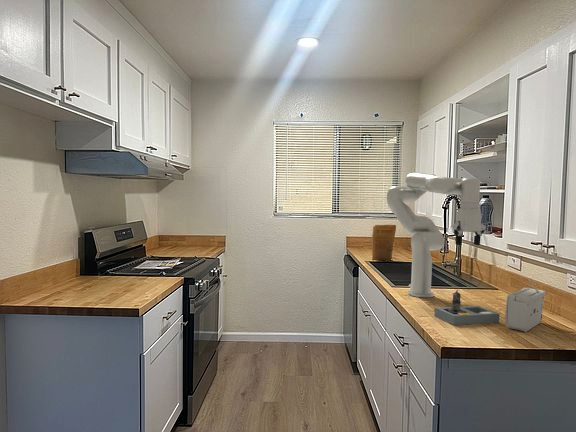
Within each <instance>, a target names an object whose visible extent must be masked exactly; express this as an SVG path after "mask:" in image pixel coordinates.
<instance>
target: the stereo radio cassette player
mask: <svg viewBox="0 0 576 432" xmlns="http://www.w3.org/2000/svg"><path fill="white" fill-rule="evenodd" d="M527 281H528V282H529V283H530V284H531V285H532V287H533V288H531V287H523V288H521V289H519V290H517V291H514V292H511V293H508V294H507V297H506V300H505V301H506V302H505V303H506V304H505V319H504V320H505V326H506V327H507V328H509V329H513V330H517V331H522V332H524V333H527V332H528V331H529V330H531V329H533V328H534V327H537V325H539V324H541V323H542V320H543V307H544V304H543V303H544V297H546V294H547V291H546V290H541V289H537V287H536V286H535V285H534V284H533V282H532V281H531V280H530V278H527Z"/></svg>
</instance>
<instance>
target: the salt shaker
mask: <svg viewBox="0 0 576 432" xmlns="http://www.w3.org/2000/svg"><path fill="white" fill-rule="evenodd" d="M451 302H452V304H451V305H452V306H451V307H452V308H451V309H449V310H448V311H449V312H450V313H452V314H458V313H464V311H462V310H461V309H460V306H461V303H462V301H461V293H460V292H459V291H458V290H456V291H455V292H453V294H452V300H451Z"/></svg>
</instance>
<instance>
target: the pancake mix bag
mask: <svg viewBox="0 0 576 432" xmlns="http://www.w3.org/2000/svg"><path fill="white" fill-rule="evenodd" d="M396 229H397V225H395V224H374V225H373V227H372V234H371V236H372V237H371V247H372V249H371V250H372V252H371V253H372V257H371V260H372V261H374V260H391V259H392V260H393V251H394V242H395V238H396V237H395V236H396V231H397V230H396Z"/></svg>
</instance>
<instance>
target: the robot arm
mask: <svg viewBox="0 0 576 432" xmlns="http://www.w3.org/2000/svg"><path fill="white" fill-rule="evenodd" d="M427 192H429V193H435V194H441V195H442V194H443V195H456V196H457V195H458V196H459V195H460V205H459V207H460V208H459V209H458V210H457V212H456V218H455V223H453V224H452V225H450V229H451V232H452V233H453V234H454V236H455V237H454V238H455V239H454V242H455V243H454V244H455V245H457V246H461V245H462V240H463V239H462V234H463V233H468V232H469V233H472V232H473V233H474V236H473V245H476V246H480V245H481V238H482V236H483V234H484V232H485V230H486V228H487V226H486V225H485V224H483V223H482V216H481V209H480V207H481V203H480V195H481V194H480V193H481V180H480V179H479V178H477V177H466V178H460V177H447V176H437V175H436V174H432V173H425V172H411V173H409V174H407V176H406V177H405V185H395V186H391V187H390V188H389V189H388V190H387V192H386V202H387V205H388V207H389V209H390V211H392V213H393V214H394V216H395V217H396V218H397V221H399V224H400V225H401V226H402V229H404V231H405V232H406V233H407V234H409V235H412V236H411V239H410V245H411V246H410V247H411V255H412V256H411V258H412V259H411V279H410V280H411V281H410V284H408V287H409V288H410V289H408V290H407V295H409V296H412V297H416V298H433V297H434V296H435V293H434V292H432V291H431V290H432V289H431V288H432V275H433V274H432V273H433V271H432V269H433V259H432V255H431V252H430V251H432V252H433V251H439V250H441V249H443V248H444V246H445V238H444V236H443V234H442V232H441V231H440V229H439V228H438V226H437V225H436V224H435V223H434V221H433V220H432V219H431V218H430V217H428V216H426V215H424V216H423V215H416V213H415V212H414V211H413V210H412V208H411V207H410V206H409V205H407V204H406V203H413V202H416V201H418V200H419V199H420V198H422V196H424V195H425V194H426V193H427Z"/></svg>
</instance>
